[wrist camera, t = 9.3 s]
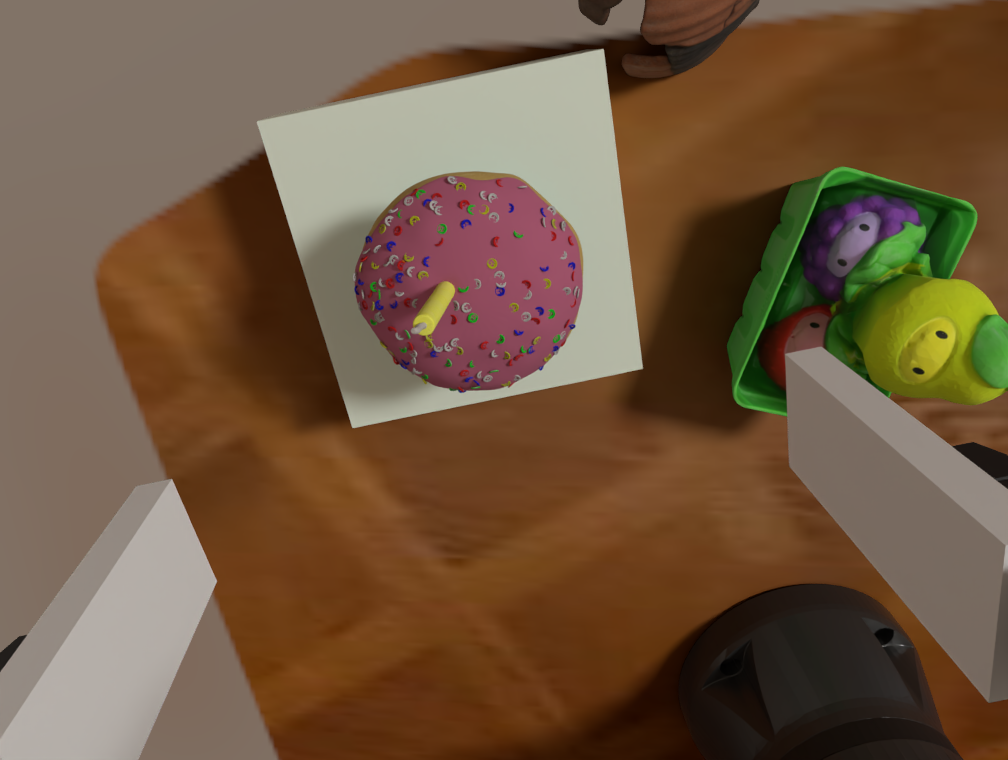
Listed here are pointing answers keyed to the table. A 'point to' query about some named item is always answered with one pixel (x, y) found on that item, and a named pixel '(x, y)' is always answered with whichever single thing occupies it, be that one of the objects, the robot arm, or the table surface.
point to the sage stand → (448, 149)
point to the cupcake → (470, 280)
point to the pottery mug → (676, 31)
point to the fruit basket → (869, 295)
